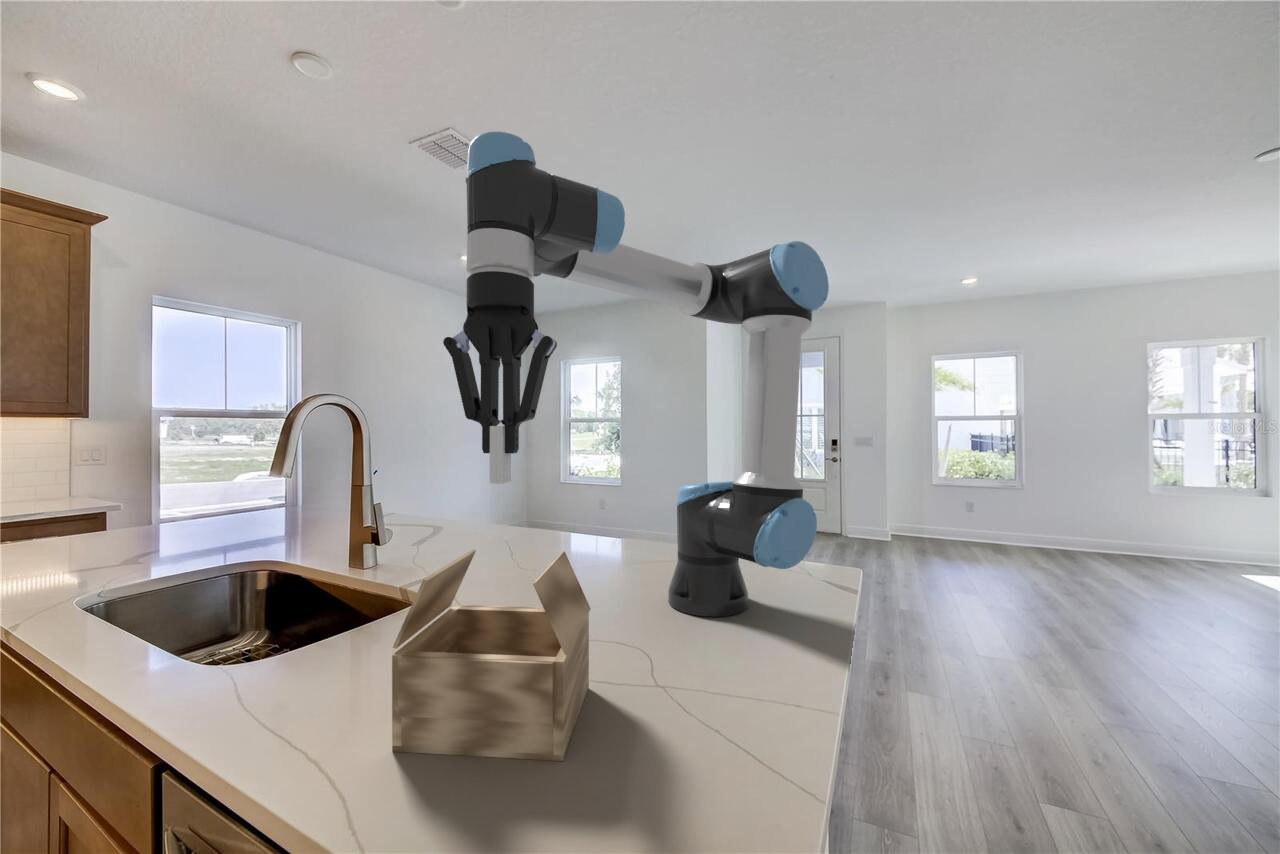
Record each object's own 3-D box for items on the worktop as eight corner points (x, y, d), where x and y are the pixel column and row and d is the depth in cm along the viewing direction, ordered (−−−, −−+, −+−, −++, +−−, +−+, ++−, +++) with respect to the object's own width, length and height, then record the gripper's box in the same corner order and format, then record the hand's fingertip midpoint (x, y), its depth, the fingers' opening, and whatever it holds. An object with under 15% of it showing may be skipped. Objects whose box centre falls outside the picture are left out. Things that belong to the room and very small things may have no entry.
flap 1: (476, 550, 65) (473, 549, 65) (426, 580, 52) (423, 579, 52) (450, 605, 65) (448, 604, 65) (395, 648, 52) (392, 647, 52)
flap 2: (587, 609, 63) (590, 608, 63) (565, 655, 51) (568, 654, 51) (561, 552, 64) (564, 551, 64) (532, 583, 51) (536, 582, 51)
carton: (589, 685, 65) (589, 608, 65) (562, 764, 50) (562, 664, 50) (455, 680, 66) (455, 604, 66) (389, 754, 51) (389, 657, 51)
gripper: (564, 286, 61) (563, 479, 61) (460, 288, 62) (460, 478, 62) (547, 266, 53) (547, 486, 54) (430, 269, 55) (429, 485, 55)
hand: (500, 481), depth 58 cm, fingers closed
